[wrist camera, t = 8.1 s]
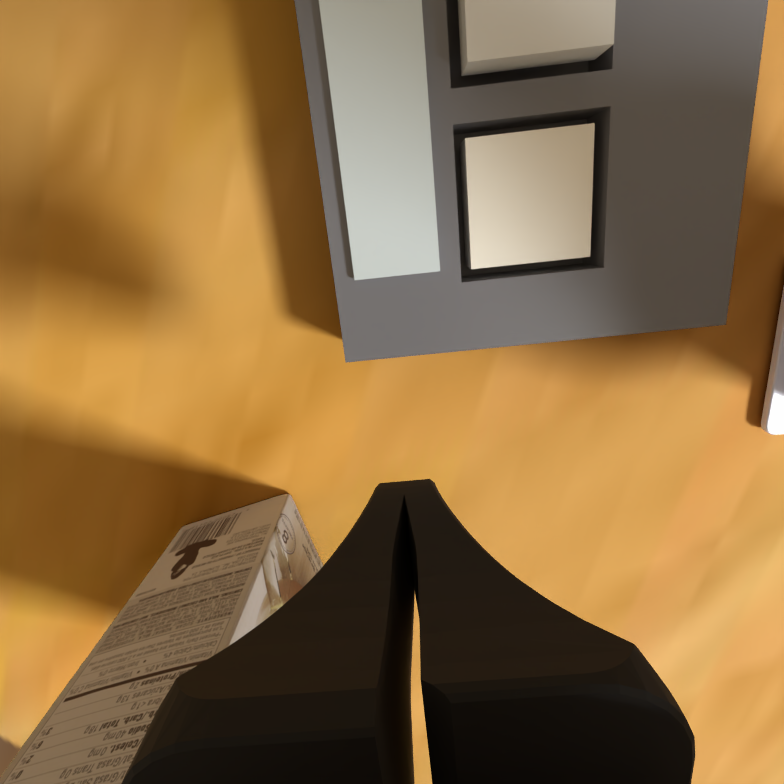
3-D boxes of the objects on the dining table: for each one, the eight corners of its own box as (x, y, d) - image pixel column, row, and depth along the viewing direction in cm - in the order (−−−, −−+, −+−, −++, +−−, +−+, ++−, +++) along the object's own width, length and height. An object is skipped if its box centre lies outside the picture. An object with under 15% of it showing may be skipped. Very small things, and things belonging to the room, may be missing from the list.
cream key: (578, 130, 17) (595, 122, 15) (576, 254, 18) (590, 256, 17) (459, 144, 17) (465, 138, 16) (465, 265, 18) (471, 269, 17)
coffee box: (357, 625, 26) (303, 1182, 11) (251, 654, 27) (62, 1213, 12) (290, 486, 23) (93, 981, 8) (173, 522, 24) (-208, 1037, 9)
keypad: (757, -496, 13) (872, -725, 10) (679, 310, 20) (731, 326, 17) (251, -411, 13) (207, -602, 10) (352, 343, 21) (344, 364, 18)
